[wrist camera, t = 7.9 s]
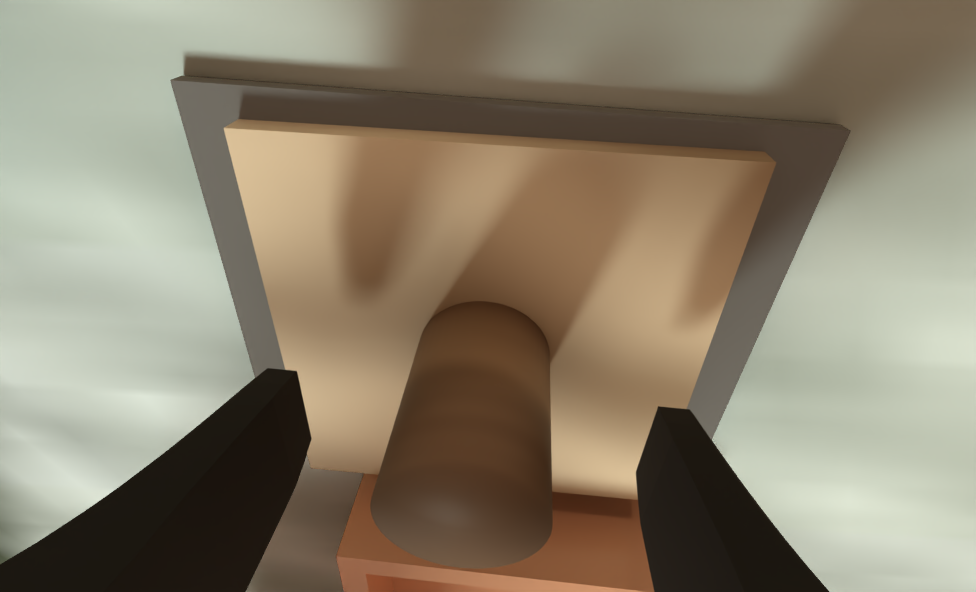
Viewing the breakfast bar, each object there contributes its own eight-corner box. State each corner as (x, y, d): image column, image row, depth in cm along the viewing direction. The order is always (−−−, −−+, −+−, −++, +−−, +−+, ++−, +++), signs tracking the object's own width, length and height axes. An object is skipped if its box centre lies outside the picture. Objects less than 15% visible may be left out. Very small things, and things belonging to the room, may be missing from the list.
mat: (685, 478, 16) (688, 490, 16) (280, 436, 17) (274, 446, 16) (840, 124, 10) (850, 130, 10) (181, 75, 10) (170, 80, 10)
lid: (649, 483, 16) (686, 673, 12) (317, 452, 16) (242, 623, 12) (764, 151, 10) (922, 301, 6) (238, 119, 10) (41, 234, 6)
